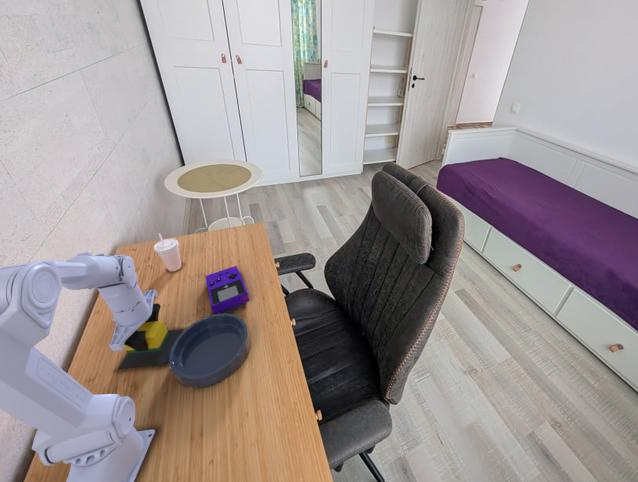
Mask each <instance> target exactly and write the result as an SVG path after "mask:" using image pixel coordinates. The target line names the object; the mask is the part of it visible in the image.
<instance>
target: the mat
mask: <svg viewBox="0 0 638 482" xmlns="http://www.w3.org/2000/svg"><path fill="white" fill-rule="evenodd" d="M167 330H168V329H167ZM183 331H184V329H183V328H180V329H169V330H168V332H169V335H168V337H167V339H166V341H165V343H164V344H163V346H162V348H161V350H157V351H147V352H136V353H127V352H126V355H125V356H124V358H123V360H122V361H121V363H120V365H119V366H118V370H125V369H135V368H146V367H153V366H163V365H167V364H169V355H170V350H171V348H172V346H173V344H174V342H175V340H176V339H177V338H178V337H179V336H180V335H181V333H182V332H183Z"/></svg>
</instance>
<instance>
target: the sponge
mask: <svg viewBox="0 0 638 482" xmlns="http://www.w3.org/2000/svg"><path fill="white" fill-rule="evenodd" d="M137 330H138V331H146V333H145V338H146V342H147V344H148V349H147V351H157V350H161V348H162V346H163V344H164V343H165V341H166V339H167V337H168V335H169V332H168V328H167V326H166V324H165V322H164V321H163V320H158V321H155V322H144V323H143V324H142V325H141V326H140V327H139V328H138V329H137ZM124 350H125V352H126V354H127V353H136V352H137V351H136V350H134V349H133V348H131V347H129V346H126V345H125V348H124ZM147 351H140V352H147Z"/></svg>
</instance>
